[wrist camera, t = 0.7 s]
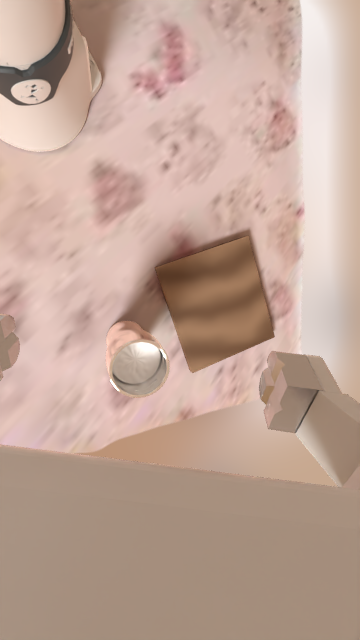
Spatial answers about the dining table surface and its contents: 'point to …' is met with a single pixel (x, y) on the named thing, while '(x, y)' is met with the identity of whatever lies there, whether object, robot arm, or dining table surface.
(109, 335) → the beer glass
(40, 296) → the dining table surface
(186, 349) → the walnut board
